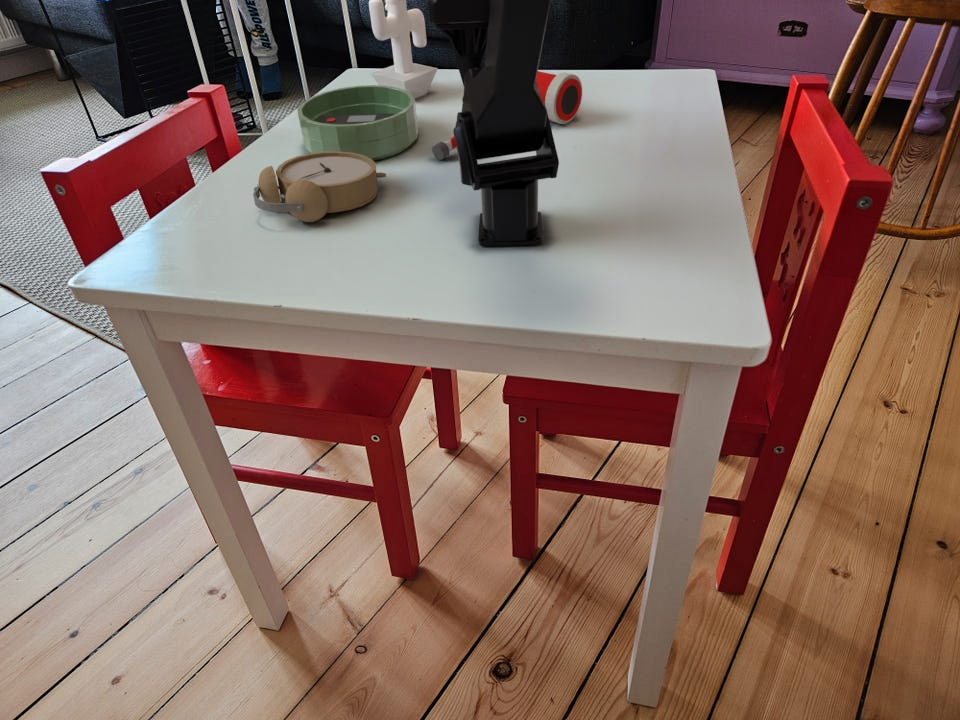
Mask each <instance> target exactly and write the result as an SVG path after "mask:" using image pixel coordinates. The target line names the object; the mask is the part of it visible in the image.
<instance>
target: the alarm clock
mask: <svg viewBox="0 0 960 720" xmlns="http://www.w3.org/2000/svg"><path fill="white" fill-rule="evenodd" d="M386 177H387V173H386V172H382V171H381V172H377V163H376V162H375V160H374V161H373V160H372V159H370V158H368V157H366V156H364V155H361V154H356V153H352V152H341V151H329V152H317V153H310V152H308V153H305V154H301V155H298V156H293V157H292V158H289V159H287V160H285V161H284V162H282V163H281V164H280V165H278V166H277V168H276V170H275V169H274V167H273V165H270V166H266V167H265V168H263V169H262V170H261V172H260V173H259V176H258V183H257V184H256V186H254V187H253V193H252V196H253V199H254V200H253V202H254V205H255V206H256V207H257V208H258V209H260V210H262V211H266V212H270V213H290V215H292V216H293V217H294V218H295V219H297V220H298V221H300V222H304V223H314V222H317V221H319V220H321V219H322V218H323V217H325V216H326V214H327V213H328V214H329V213H330V214H331V213H338V212H345V211H350V210H354V209H357V208H361V207H363V206H364V205H366V204H367V205H368V203H370V202H372V201H374V199H376V197H377V196H378V192H379V186H378V181H377V179H381V178H386ZM260 197H261V198H262V199H260Z"/></svg>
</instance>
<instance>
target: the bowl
mask: <svg viewBox="0 0 960 720" xmlns="http://www.w3.org/2000/svg"><path fill="white" fill-rule="evenodd" d="M296 112H297V117H298V120H299V125H300V130H301V134H302V139H303V144H304V148H305V150H306V151H308V153H317V152H329V151H341V152H352V153H356V154H361V155H364V156H366V157H368V158H370V159H372V160H373V161H374V162H375V161H379V160H382V159H386V158H389V157H392V156H395V155H398V154H400V153H401V152H403V151H405V150H406V149H408V148H409V147H410V146H411V145H412V144H413V143H414V142H415V141H416V140H417V139H418V136H419V135H418V134H419V132H420V131H419V123H418V113H417V104H416V99H415V98H414V97H413V95H412V94H411V93H409V92H407V91H405V90H403V89H400V88H395V87H391V86H379V85H378V84H377V85H376V84H369V85H366V84H365V85H353V86H346V87H339V88H335V89H330V90H327V91H323V92H321V93H318V94H316V95H313V96H311V97H309V98H308V99H306V100H304V101H302V103H300V105H299V107H297V111H296ZM389 113H397V114H395V115H393V116H390V117H388V118H384V119H380V120H377V121H372V122H366V123H359V124H340V125H337V124H326V123H320V122H317V121H318V119H319V118H320V116H335V115H362V114H389Z"/></svg>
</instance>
